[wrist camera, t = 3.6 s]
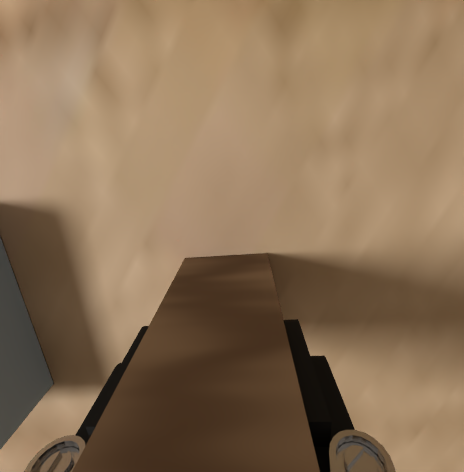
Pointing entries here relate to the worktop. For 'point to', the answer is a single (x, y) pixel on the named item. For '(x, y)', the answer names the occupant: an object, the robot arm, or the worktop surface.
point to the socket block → (17, 356)
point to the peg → (208, 382)
